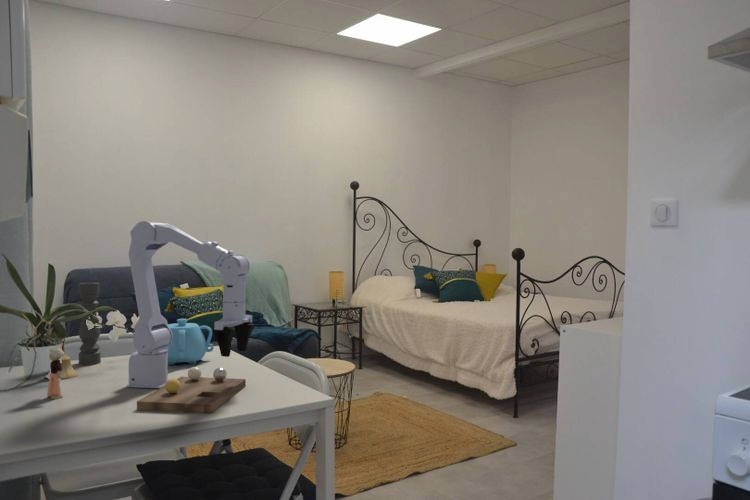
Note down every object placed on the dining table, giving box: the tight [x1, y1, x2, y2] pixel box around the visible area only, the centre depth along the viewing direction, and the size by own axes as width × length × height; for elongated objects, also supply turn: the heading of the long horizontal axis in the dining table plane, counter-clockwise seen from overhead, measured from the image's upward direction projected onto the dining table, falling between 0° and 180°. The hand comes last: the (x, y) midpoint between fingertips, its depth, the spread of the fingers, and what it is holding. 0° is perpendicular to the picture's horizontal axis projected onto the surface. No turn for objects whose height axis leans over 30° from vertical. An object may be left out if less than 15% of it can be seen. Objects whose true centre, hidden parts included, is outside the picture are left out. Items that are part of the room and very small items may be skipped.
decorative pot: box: [167, 318, 215, 366], centre depth 191 cm, size 16×16×14 cm
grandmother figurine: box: [46, 346, 64, 400], centre depth 149 cm, size 8×4×13 cm, turn 49°
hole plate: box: [136, 376, 247, 414], centre depth 150 cm, size 18×24×2 cm
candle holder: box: [78, 282, 102, 366], centre depth 187 cm, size 6×6×25 cm
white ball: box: [187, 366, 202, 380], centre depth 159 cm, size 4×4×4 cm
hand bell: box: [61, 326, 79, 381], centre depth 170 cm, size 8×8×16 cm
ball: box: [165, 378, 180, 393], centre depth 146 cm, size 4×4×4 cm
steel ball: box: [212, 367, 228, 381], centre depth 158 cm, size 4×4×4 cm
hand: (233, 353), depth 156 cm, fingers open, 7 cm apart
